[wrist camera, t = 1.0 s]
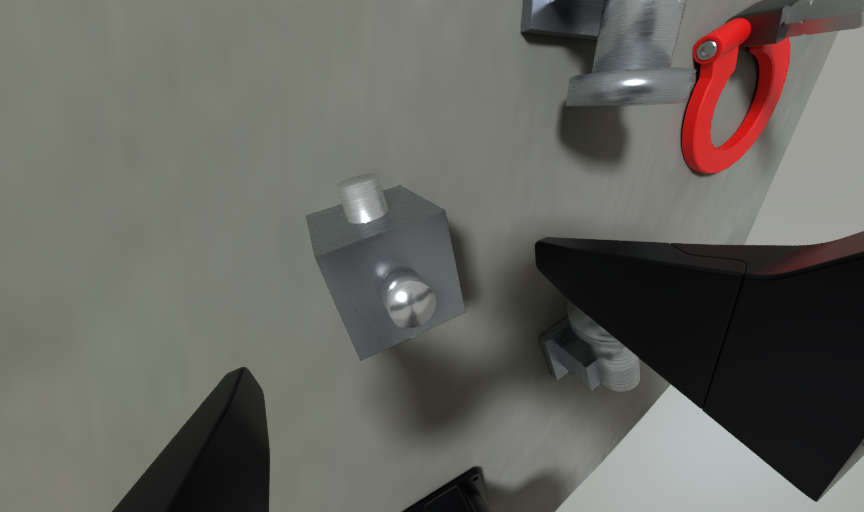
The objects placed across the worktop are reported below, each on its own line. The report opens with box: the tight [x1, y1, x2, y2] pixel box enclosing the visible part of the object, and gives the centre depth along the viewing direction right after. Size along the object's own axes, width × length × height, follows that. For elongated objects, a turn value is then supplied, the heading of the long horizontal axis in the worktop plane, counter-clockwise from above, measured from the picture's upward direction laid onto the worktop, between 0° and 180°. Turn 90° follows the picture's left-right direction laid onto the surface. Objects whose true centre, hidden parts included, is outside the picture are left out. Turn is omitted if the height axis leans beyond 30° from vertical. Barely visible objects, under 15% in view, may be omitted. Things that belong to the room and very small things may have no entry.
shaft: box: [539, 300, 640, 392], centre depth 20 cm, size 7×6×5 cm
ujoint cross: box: [306, 174, 465, 361], centre depth 11 cm, size 6×4×6 cm, turn 13°
